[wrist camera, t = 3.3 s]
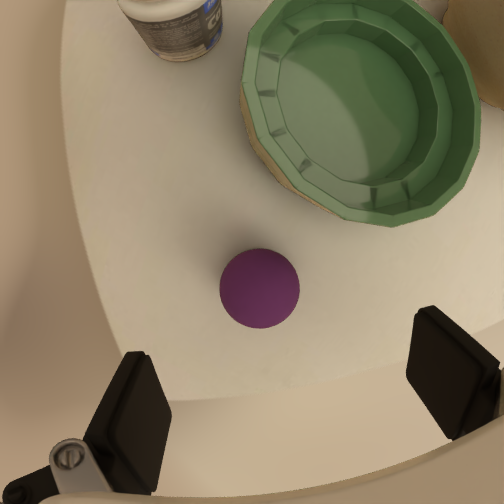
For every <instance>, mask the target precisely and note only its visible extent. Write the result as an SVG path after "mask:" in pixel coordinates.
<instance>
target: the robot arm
mask: <svg viewBox="0 0 504 504" xmlns="http://www.w3.org/2000/svg"><path fill="white" fill-rule="evenodd" d="M499 364H500V362H499V361H498V360H497V359H496V358H495V357H494V356H493V355H492V354H491V353H489V352H488V351H487V350H486V349H485V348H484V347H483V346H482V345H480V344H479V343H478V342H477V341H476V340H475V339H474V338H472V337H471V336H470V335H469V334H468V333H467V332H466V331H464V330H463V329H462V328H461V327H460V326H459V325H457V324H456V323H455V322H454V321H453V320H451V319H450V318H449V317H448V316H447V315H445V314H444V313H443V312H442V311H441V310H439V309H438V308H437V307H436V306H434V305H431V306H427V307H424V308H420V309H419V310H418V313H416V314H415V316H414V322H413V330H412V337H411V344H410V351H409V357H408V363H407V368H406V377H407V380H408V381H409V383H410V384H411V386H412V387H413V388H414V390H415V391H416V393H417V394H418V396H419V397H420V399H421V400H422V402H423V403H424V404H425V406H426V407H427V409H428V410H429V412H430V413H431V415H432V416H433V418H434V419H435V421H436V422H437V424H438V425H439V427H440V428H441V430H442V431H443V433H444V434H445V436H446V437H447V438H448V439H452V442H450V443H448V444H446V445H444V446H442V447H439V448H437V449H435V450H432V451H430V452H428V453H426V454H423V455H421V456H418V457H415V458H413V459H410V460H408V461H405V462H402V463H399V464H397V465H394V466H391V467H388V468H385V469H382V470H379V471H376V472H372V473H369V474H365V475H362V476H358V477H354V478H351V479H347V480H343V481H339V482H335V483H330V484H325V485H321V486H316V487H311V488H305V489H299V490H293V491H287V492H279V493H271V494H262V495H252V496H237V497H209V498H198V497H197V498H195V497H162V496H151V492H155V491H156V489H157V484H158V479H159V474H160V469H161V464H162V460H163V455H164V451H165V446H166V441H167V437H168V432H169V427H170V423H171V418H172V414H171V410H170V407H169V404H168V402H167V399H166V397H165V395H164V392H163V390H162V387H161V384H160V382H159V379H158V377H157V374H156V371H155V369H154V366H153V363H152V360H151V358H150V356H149V355H145V353H144V352H143V351H134V352H127V353H126V354H125V356H124V358H123V360H122V361H121V364H120V365H119V367H118V369H117V371H116V373H115V375H114V376H113V379H112V380H111V382H110V384H109V386H108V388H107V390H106V392H105V394H104V396H103V398H102V400H101V402H100V404H99V406H98V408H97V410H96V412H95V414H94V416H93V418H92V420H91V422H90V424H89V426H88V428H87V431H86V432H85V435H84V437H83V440H80V439H75V438H72V439H66V440H63V441H61V442H59V443H58V444H56V445H55V446H54V447H53V449H52V450H51V452H50V455H49V463H50V465H48V466H46V467H44V468H42V469H39V470H37V471H35V472H33V473H30V474H28V475H26V476H23V477H21V478H19V479H16V480H14V481H12V482H10V483H9V484H8V485H7V486H6V487H5V489H4V491H3V495H2V499H3V502H2V503H1V502H0V504H504V368H503V369H502V370H500V369H499V368H498V367H499Z"/></svg>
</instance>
